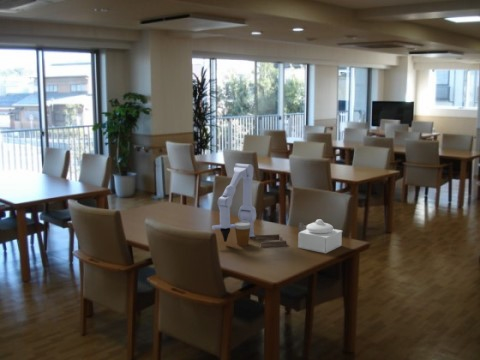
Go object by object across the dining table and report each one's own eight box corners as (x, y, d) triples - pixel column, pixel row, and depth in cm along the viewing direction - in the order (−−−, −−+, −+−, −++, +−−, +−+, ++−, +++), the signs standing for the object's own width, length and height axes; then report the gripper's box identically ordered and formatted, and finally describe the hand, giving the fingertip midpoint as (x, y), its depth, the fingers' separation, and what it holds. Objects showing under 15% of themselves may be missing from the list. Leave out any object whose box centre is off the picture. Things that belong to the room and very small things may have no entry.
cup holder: (255, 239, 320) (255, 235, 319) (279, 238, 322) (279, 234, 322) (261, 247, 305) (261, 242, 305) (286, 245, 308) (286, 241, 307)
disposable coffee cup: (236, 247, 305) (236, 226, 303) (232, 242, 314) (232, 222, 312) (253, 245, 308) (253, 225, 306) (248, 241, 317) (248, 221, 315)
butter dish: (314, 240, 317) (314, 213, 314) (342, 245, 306) (342, 218, 303) (297, 247, 304) (298, 219, 301) (326, 253, 293) (327, 224, 290)
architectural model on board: (316, 238, 322) (316, 222, 320) (312, 239, 320) (312, 223, 318) (302, 234, 330) (302, 219, 329) (298, 235, 328) (298, 220, 327)
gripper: (212, 220, 301) (213, 243, 304) (238, 218, 304) (239, 242, 306) (211, 217, 308) (211, 240, 311) (236, 215, 311) (237, 238, 313)
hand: (225, 241), depth 309 cm, fingers closed
